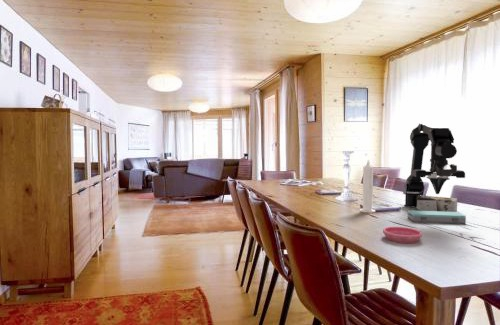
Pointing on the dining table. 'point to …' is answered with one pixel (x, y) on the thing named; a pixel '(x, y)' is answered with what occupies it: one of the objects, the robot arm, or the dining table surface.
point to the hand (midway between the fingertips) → (437, 194)
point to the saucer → (402, 234)
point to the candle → (367, 189)
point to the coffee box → (436, 203)
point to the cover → (436, 214)
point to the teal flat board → (437, 219)
